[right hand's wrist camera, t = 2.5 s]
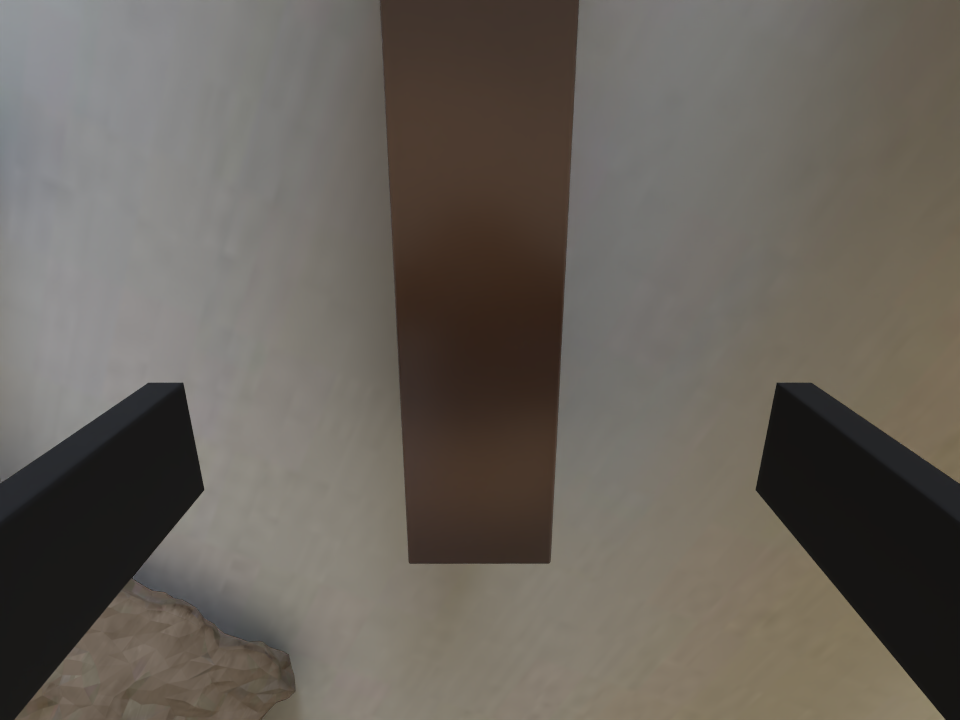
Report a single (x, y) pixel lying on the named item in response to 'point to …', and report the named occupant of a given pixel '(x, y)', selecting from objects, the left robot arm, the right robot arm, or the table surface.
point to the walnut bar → (479, 266)
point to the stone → (161, 668)
